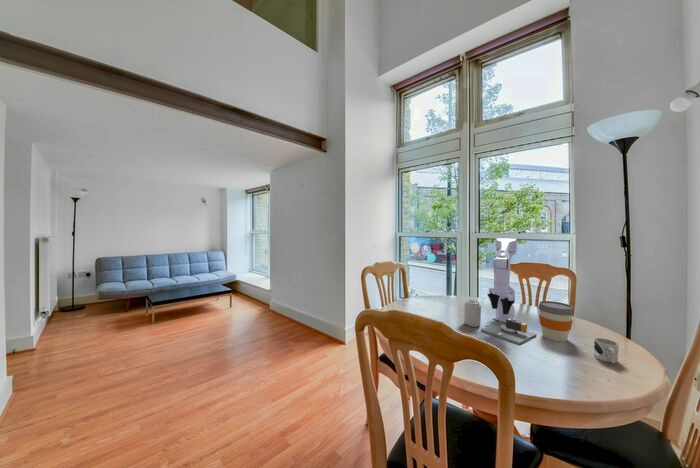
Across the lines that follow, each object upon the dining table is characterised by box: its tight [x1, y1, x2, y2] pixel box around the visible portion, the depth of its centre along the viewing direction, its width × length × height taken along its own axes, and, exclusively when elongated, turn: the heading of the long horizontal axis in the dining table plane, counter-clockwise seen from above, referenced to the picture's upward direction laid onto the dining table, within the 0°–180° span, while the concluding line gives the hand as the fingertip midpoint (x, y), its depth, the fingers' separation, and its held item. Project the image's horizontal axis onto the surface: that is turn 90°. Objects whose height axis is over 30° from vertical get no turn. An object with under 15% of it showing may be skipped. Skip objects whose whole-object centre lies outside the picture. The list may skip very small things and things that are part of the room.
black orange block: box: [501, 318, 528, 333], centre depth 123 cm, size 11×7×5 cm, turn 33°
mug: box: [593, 337, 619, 364], centre depth 99 cm, size 10×7×7 cm
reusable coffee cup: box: [538, 300, 574, 343], centre depth 119 cm, size 13×13×15 cm
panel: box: [480, 321, 537, 346], centre depth 123 cm, size 16×17×1 cm
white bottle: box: [463, 300, 482, 328], centre depth 134 cm, size 8×8×12 cm
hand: (500, 311), depth 125 cm, fingers open, 7 cm apart
